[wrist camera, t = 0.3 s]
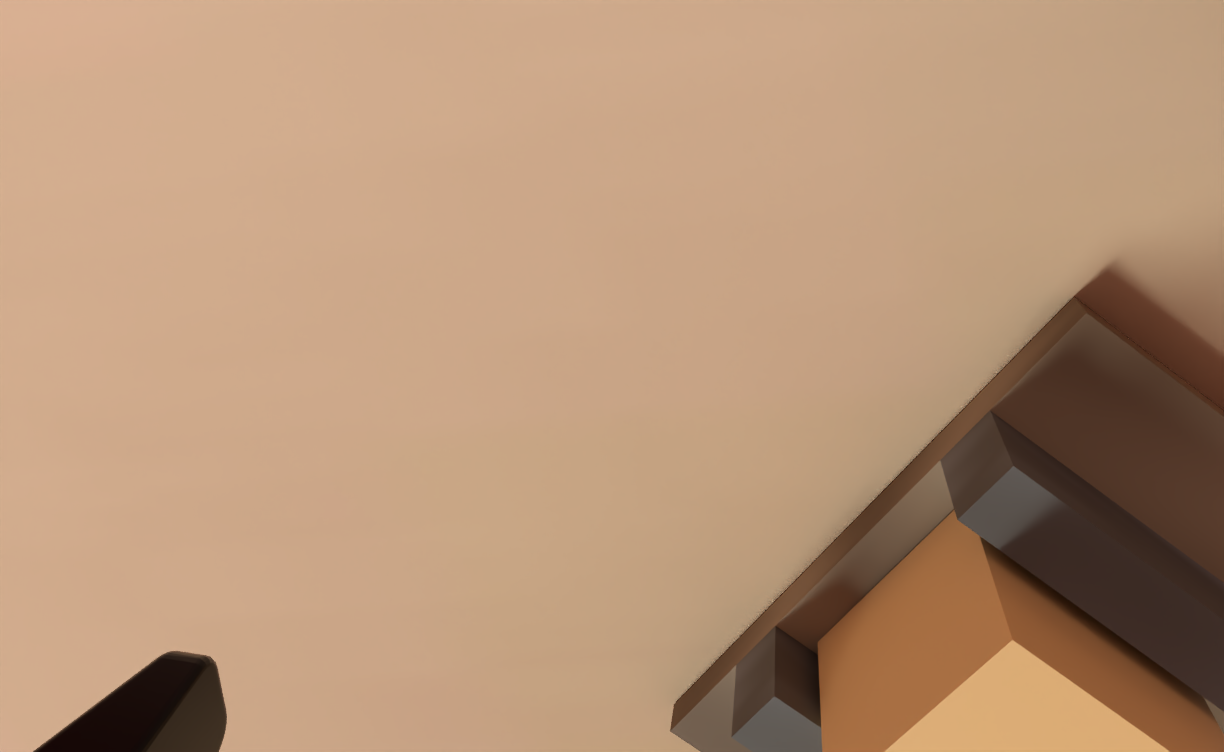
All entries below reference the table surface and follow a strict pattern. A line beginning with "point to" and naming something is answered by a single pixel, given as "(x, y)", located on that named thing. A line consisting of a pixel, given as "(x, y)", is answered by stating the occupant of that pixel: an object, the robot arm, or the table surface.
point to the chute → (1019, 528)
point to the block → (993, 666)
